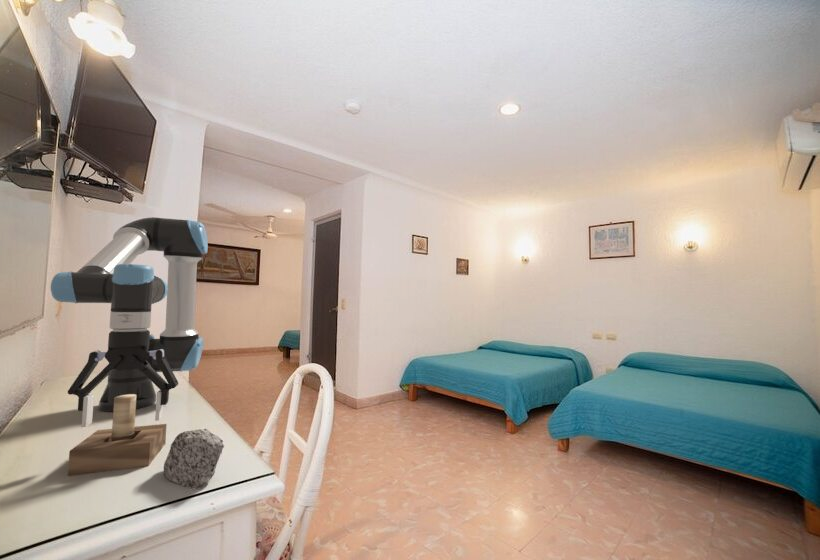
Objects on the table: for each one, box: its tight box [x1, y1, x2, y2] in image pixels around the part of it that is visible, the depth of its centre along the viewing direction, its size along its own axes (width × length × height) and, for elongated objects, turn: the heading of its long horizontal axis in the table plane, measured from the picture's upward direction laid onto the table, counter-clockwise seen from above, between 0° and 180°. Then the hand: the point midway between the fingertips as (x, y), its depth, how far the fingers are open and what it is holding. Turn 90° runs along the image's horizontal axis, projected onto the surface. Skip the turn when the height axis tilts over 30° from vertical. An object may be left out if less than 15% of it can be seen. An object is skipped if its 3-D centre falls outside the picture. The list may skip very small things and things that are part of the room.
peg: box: [111, 394, 137, 441], centre depth 80 cm, size 4×4×14 cm
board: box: [67, 423, 168, 476], centre depth 80 cm, size 12×14×5 cm
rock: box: [163, 428, 225, 490], centre depth 72 cm, size 16×8×10 cm, turn 47°
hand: (123, 421), depth 80 cm, fingers open, 13 cm apart
